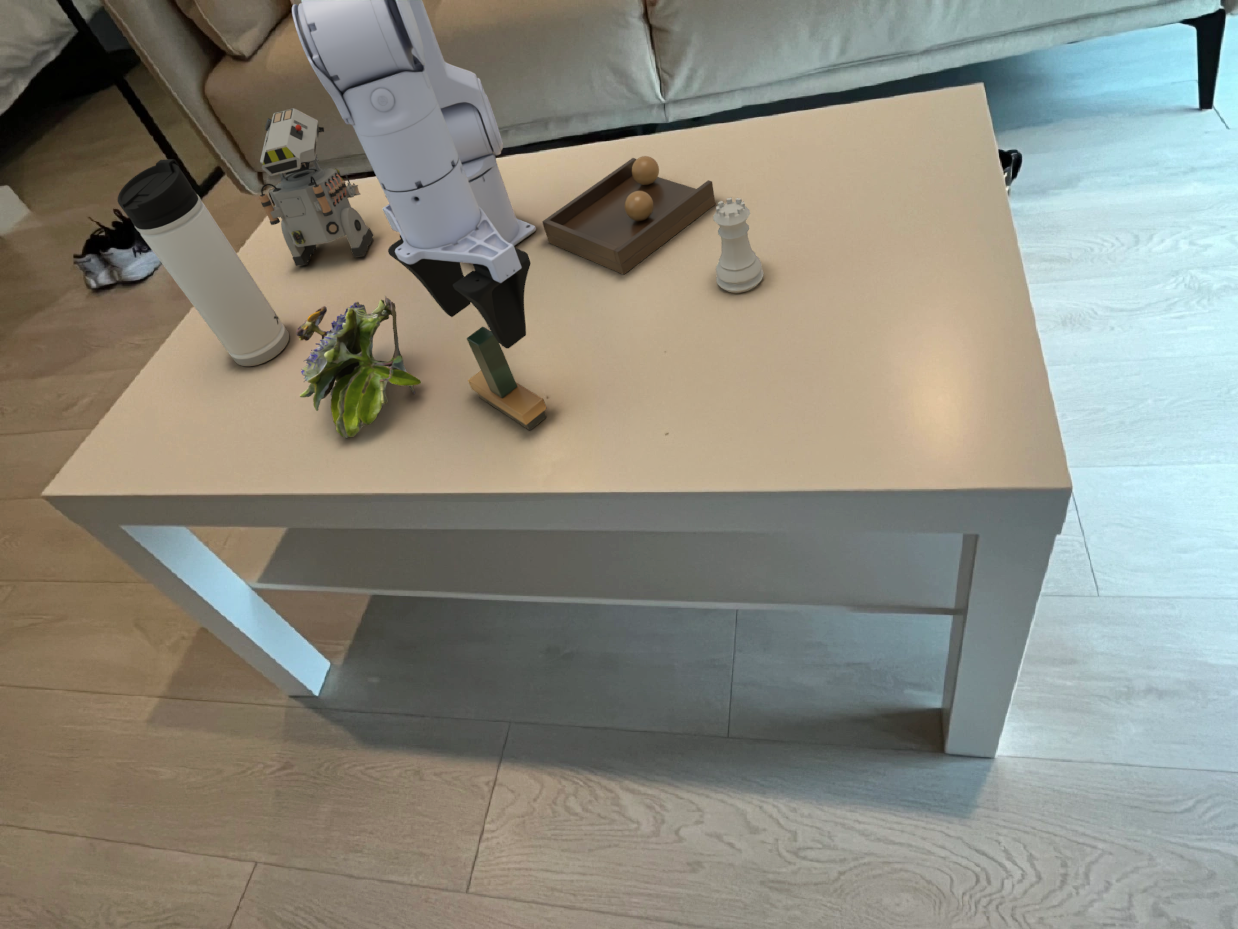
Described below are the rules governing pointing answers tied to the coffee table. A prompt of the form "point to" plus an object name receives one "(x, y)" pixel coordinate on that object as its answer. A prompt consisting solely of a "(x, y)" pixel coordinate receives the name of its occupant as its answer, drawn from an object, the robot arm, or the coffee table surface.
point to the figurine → (308, 190)
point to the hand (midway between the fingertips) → (485, 324)
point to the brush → (502, 382)
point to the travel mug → (203, 262)
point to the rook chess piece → (736, 249)
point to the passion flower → (352, 366)
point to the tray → (625, 219)
